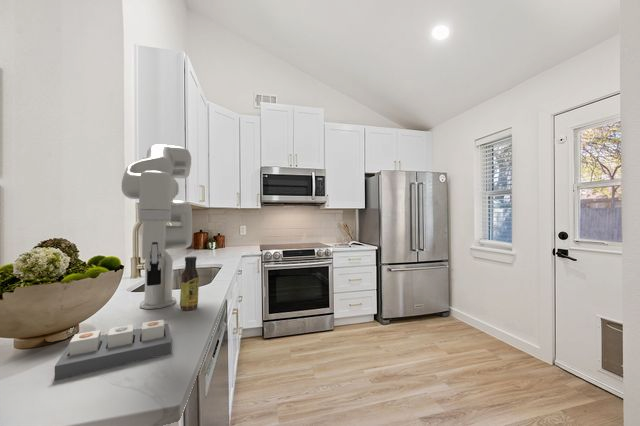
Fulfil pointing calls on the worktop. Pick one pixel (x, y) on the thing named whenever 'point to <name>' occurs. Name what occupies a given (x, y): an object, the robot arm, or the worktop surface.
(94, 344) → the dot key
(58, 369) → the slotted grey tray
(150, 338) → the dot key
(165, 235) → the robot arm
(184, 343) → the worktop surface
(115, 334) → the plain key
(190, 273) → the sauce bottle
